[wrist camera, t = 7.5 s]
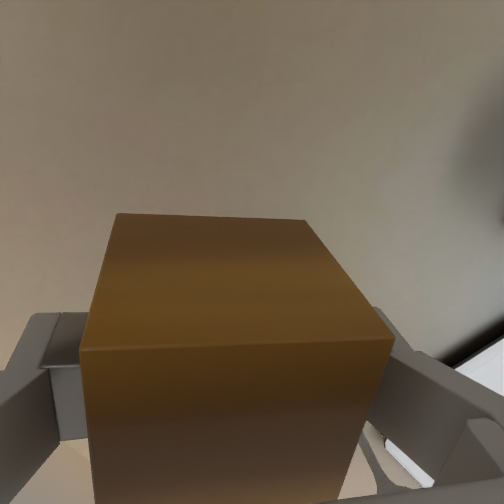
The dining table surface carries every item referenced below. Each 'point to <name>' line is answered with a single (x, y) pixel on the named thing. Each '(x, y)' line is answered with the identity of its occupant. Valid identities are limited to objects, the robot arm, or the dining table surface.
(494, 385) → the plate
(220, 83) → the dining table surface
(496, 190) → the dining table surface
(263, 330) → the block
